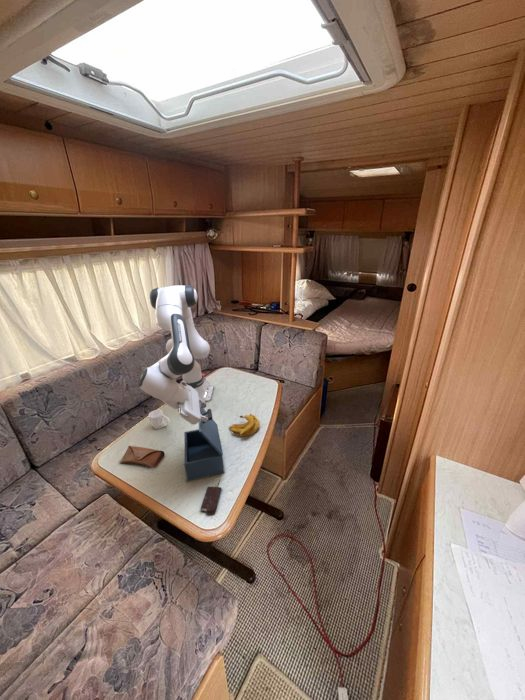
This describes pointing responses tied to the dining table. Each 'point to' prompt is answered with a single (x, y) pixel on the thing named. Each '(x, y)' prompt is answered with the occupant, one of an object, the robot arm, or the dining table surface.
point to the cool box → (200, 456)
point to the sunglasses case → (143, 456)
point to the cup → (157, 418)
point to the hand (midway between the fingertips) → (206, 412)
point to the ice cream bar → (211, 498)
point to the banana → (246, 426)
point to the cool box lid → (210, 430)
